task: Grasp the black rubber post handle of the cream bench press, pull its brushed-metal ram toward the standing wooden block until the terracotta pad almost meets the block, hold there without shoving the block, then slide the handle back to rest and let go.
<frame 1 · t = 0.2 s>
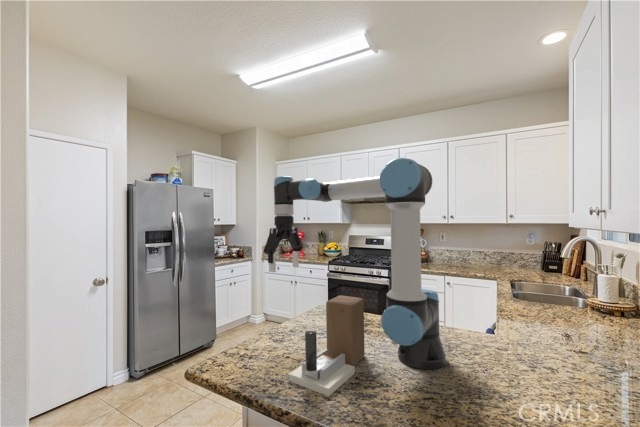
hand: (284, 269, 117), 28 cm above the counter, fingers open, 13 cm apart
wooden block: (346, 359, 100), on the counter
ram handle: (318, 350, 87), point 9 cm above the counter, slide at 0.0 cm
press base: (322, 376, 88), on the counter
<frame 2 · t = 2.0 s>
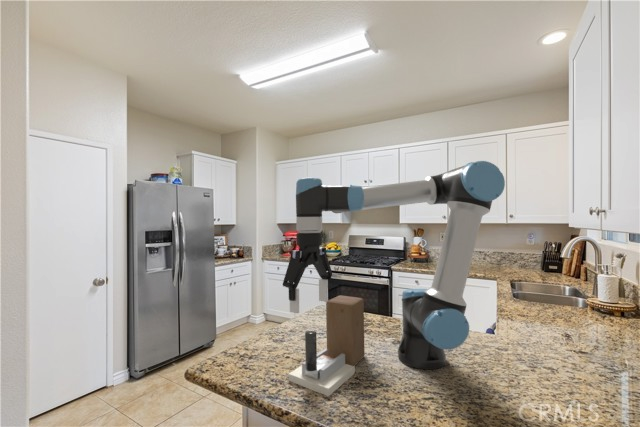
hand: (309, 306, 84), 22 cm above the counter, fingers open, 13 cm apart
nothing on the counter moved.
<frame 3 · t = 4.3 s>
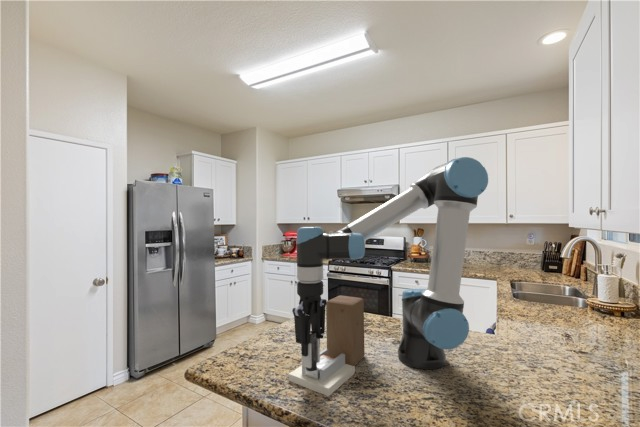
hand: (311, 363, 84), 6 cm above the counter, fingers closed on ram handle, 3 cm apart
ram handle: (318, 350, 87), point 9 cm above the counter, slide at 0.0 cm, touching gripper
everything else where it was.
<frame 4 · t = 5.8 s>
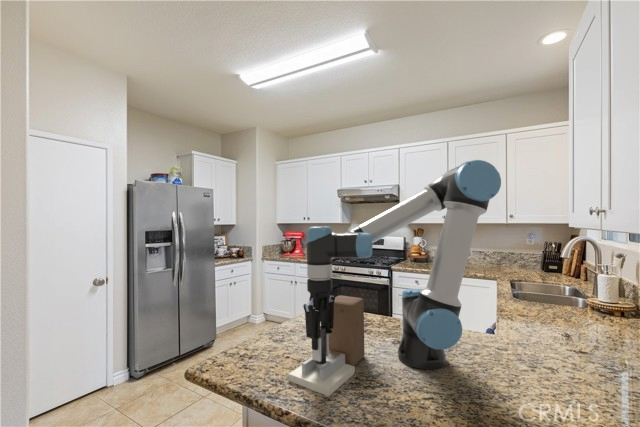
hand: (320, 357, 88), 6 cm above the counter, fingers closed on ram handle, 3 cm apart
ram handle: (327, 344, 91), point 8 cm above the counter, slide at 4.8 cm, touching gripper
everything else where it was.
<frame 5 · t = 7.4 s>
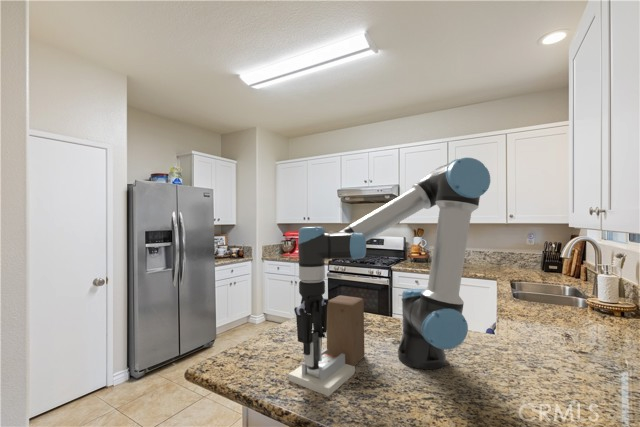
hand: (313, 362, 85), 6 cm above the counter, fingers closed on ram handle, 3 cm apart
ram handle: (320, 349, 88), point 8 cm above the counter, slide at 0.9 cm, touching gripper
everything else where it was.
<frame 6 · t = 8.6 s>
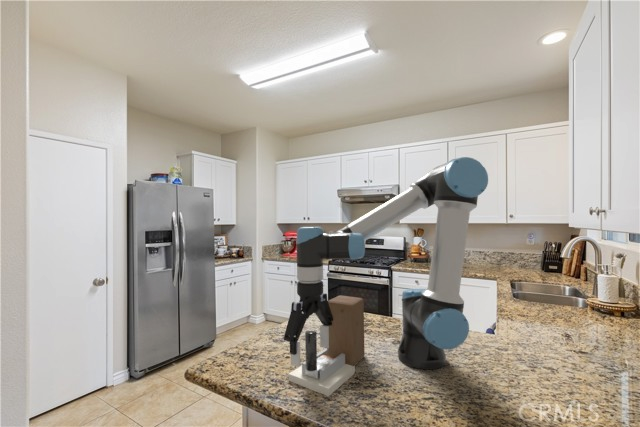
hand: (311, 355, 84), 8 cm above the counter, fingers open, 13 cm apart
ram handle: (318, 350, 87), point 8 cm above the counter, slide at 0.1 cm
everything else where it was.
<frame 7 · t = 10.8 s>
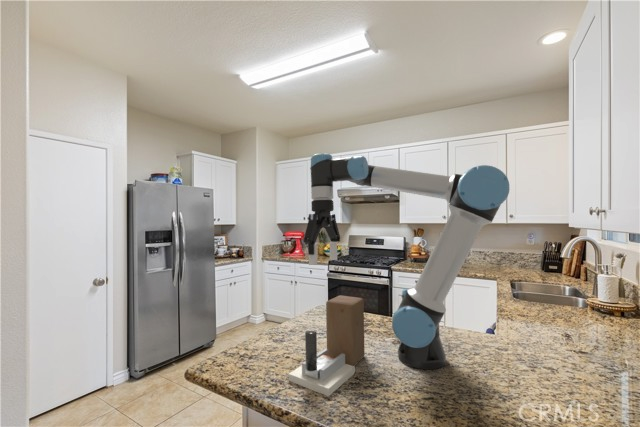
hand: (323, 262, 100), 33 cm above the counter, fingers open, 13 cm apart
nothing on the counter moved.
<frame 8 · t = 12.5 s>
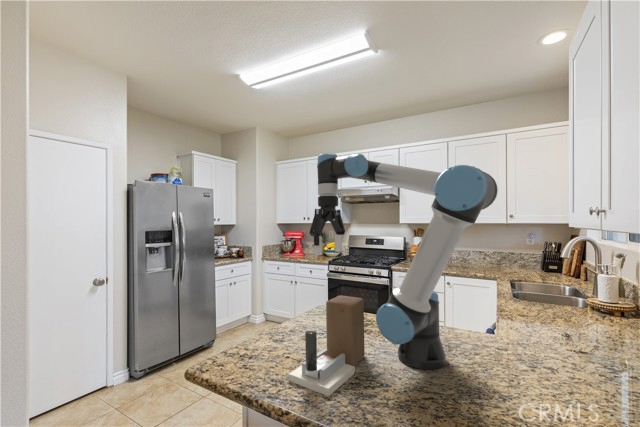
hand: (328, 253, 109), 35 cm above the counter, fingers open, 13 cm apart
nothing on the counter moved.
at the end: ram handle slide at 0.1 cm; wooden block moved 0.2 cm from its start; wooden block tilted 0° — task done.
